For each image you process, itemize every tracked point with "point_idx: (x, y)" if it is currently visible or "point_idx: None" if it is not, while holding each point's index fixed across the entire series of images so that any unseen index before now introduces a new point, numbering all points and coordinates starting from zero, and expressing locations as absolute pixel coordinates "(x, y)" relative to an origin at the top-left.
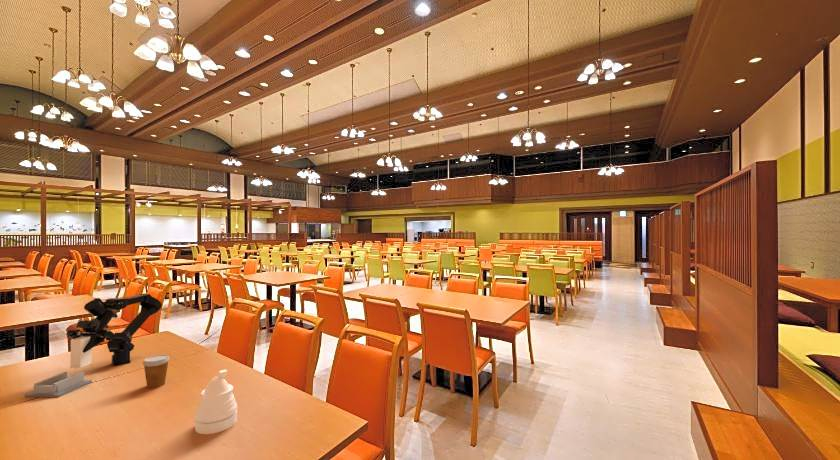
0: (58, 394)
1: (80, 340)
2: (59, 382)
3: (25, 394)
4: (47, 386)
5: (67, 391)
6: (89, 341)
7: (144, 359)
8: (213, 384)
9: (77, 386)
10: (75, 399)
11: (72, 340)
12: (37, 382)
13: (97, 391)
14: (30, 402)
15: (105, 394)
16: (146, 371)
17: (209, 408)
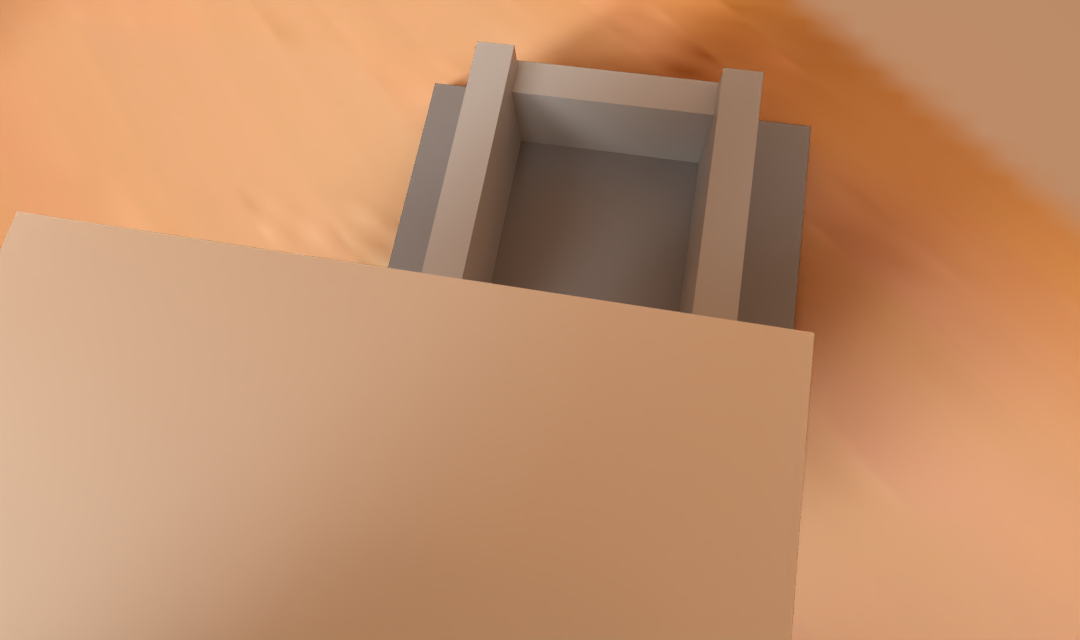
0: (444, 88)
1: (64, 230)
2: (468, 85)
3: (806, 126)
4: (577, 68)
5: (417, 165)
6: None
7: None
8: None
9: (390, 267)
10: (254, 42)
11: (651, 318)
12: (755, 102)
13: (150, 186)
14: (623, 24)
15: (43, 111)
16: None
17: None
